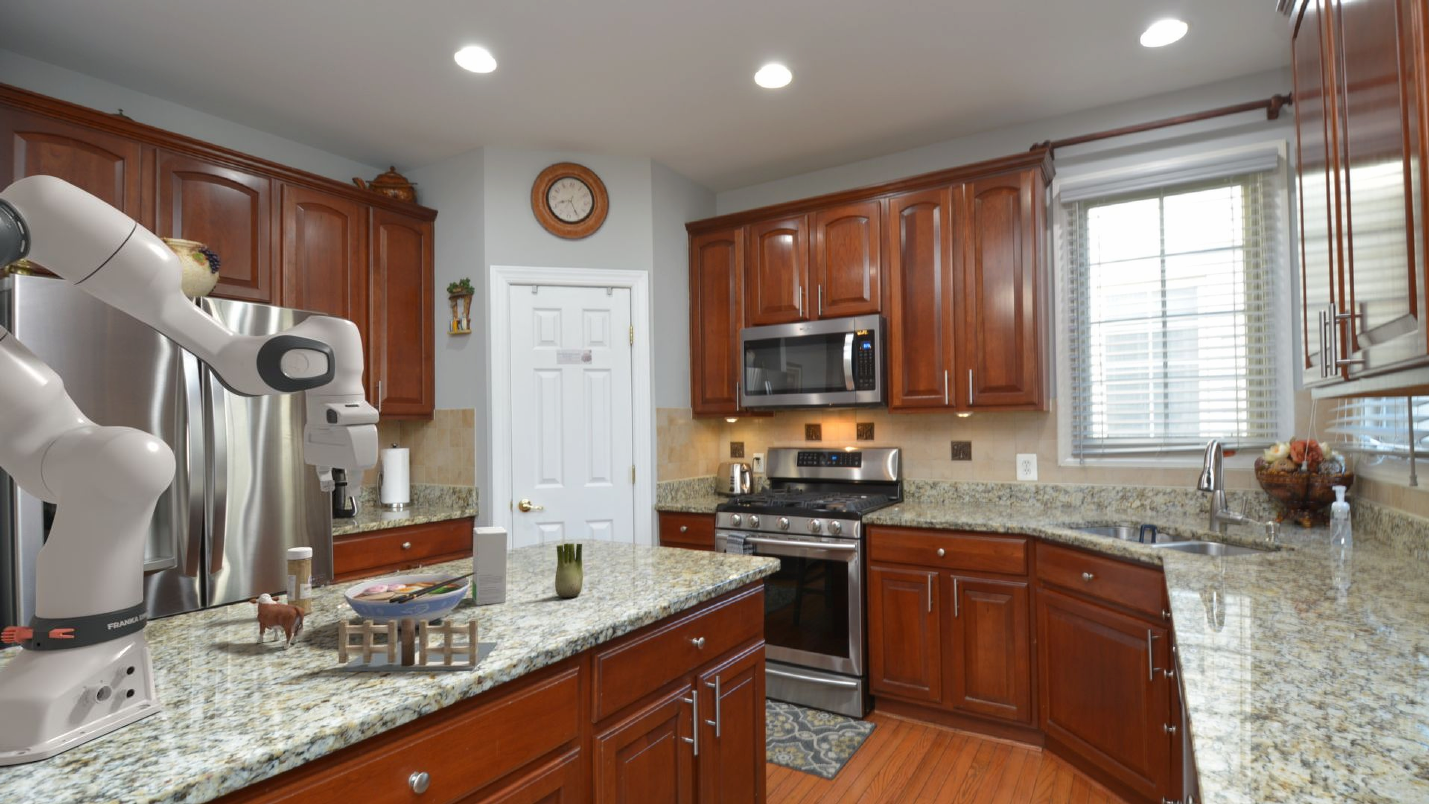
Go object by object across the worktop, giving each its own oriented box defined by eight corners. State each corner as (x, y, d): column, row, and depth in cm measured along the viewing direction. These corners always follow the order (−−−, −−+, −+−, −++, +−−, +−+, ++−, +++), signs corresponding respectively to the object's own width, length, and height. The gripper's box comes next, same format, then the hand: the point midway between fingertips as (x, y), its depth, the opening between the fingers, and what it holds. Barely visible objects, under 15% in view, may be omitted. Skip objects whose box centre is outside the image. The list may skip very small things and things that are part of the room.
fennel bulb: (583, 594, 160) (583, 540, 161) (580, 599, 155) (580, 544, 156) (557, 594, 160) (557, 541, 160) (554, 600, 155) (553, 545, 155)
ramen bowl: (402, 604, 152) (402, 566, 153) (497, 610, 147) (497, 571, 147) (309, 639, 128) (309, 594, 128) (417, 648, 123) (417, 601, 123)
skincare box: (471, 597, 158) (471, 527, 158) (502, 594, 161) (502, 525, 161) (476, 606, 150) (476, 532, 151) (508, 602, 153) (508, 530, 154)
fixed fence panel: (478, 662, 114) (477, 618, 114) (475, 665, 113) (475, 620, 113) (422, 663, 114) (422, 619, 114) (419, 665, 113) (419, 621, 113)
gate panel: (397, 660, 114) (397, 619, 114) (393, 662, 113) (394, 621, 113) (342, 660, 114) (342, 620, 114) (338, 663, 113) (338, 622, 113)
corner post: (411, 668, 113) (411, 621, 113) (399, 668, 113) (399, 621, 113) (416, 664, 115) (417, 617, 115) (404, 664, 115) (404, 617, 115)
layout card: (472, 670, 112) (472, 667, 112) (339, 671, 112) (339, 669, 112) (497, 643, 125) (497, 641, 125) (377, 645, 125) (377, 643, 125)
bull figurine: (269, 634, 132) (269, 590, 132) (310, 645, 125) (310, 599, 125) (243, 640, 128) (244, 595, 128) (284, 652, 121) (284, 604, 121)
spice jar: (312, 614, 145) (313, 548, 145) (286, 618, 142) (287, 551, 143) (310, 609, 149) (311, 545, 149) (285, 613, 146) (285, 547, 146)
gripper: (291, 412, 124) (294, 490, 124) (344, 414, 111) (348, 501, 112) (329, 410, 129) (332, 485, 129) (384, 412, 116) (387, 495, 117)
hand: (340, 493), depth 120 cm, fingers open, 8 cm apart
